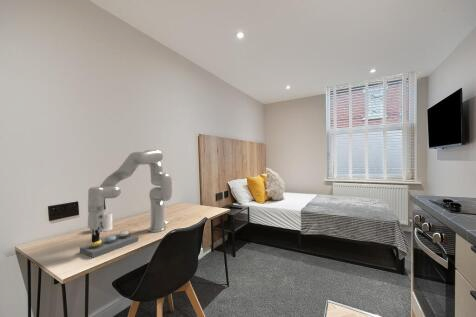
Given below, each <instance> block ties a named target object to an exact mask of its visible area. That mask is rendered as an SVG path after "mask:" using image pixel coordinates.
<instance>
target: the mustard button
mask: <svg viewBox="0 0 476 317" xmlns="http://www.w3.org/2000/svg"><path fill="white" fill-rule="evenodd" d="M102 240H103V239H100V238H99V241H97V242H92V240H91V241H90V244H91V247H95V246H99V245H101V243H102Z"/></svg>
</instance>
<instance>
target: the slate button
mask: <svg viewBox="0 0 476 317" xmlns="http://www.w3.org/2000/svg"><path fill="white" fill-rule="evenodd" d="M116 236H117V235H109V236H106V237H105V239H106V242H113V241H115V240H116Z"/></svg>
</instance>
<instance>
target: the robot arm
mask: <svg viewBox="0 0 476 317" xmlns="http://www.w3.org/2000/svg"><path fill="white" fill-rule="evenodd" d="M163 158H164V154H163V152H162V151H161V150H158V149H153V150H152V149H151V150H149V149H148V150H144V151H133V152H131V153H130V154H129V155H128V156H127V157H126V159H125V160H124V161H123V163H122V164H121V165H120V166H119V167H118V168H117V170H115V171H113V172H112V173H111V174H110V175H108V176H107V177H106V178H105V179H104V180H103V181H102V183H101V184H100V185H99V186H92V187H89V189H88V193H87V194H88V195H87V213H88V216H87V228H88V229H89V230H90V232H91V241H92V242H97V241H99V239H100V234H101V233H102V228H103V229H104V228H105V214H104V213H105V199H106V200H107V199H115V198H118V197H120V195H121V193H122V191H121V188H120V187H119V186H117V184H118V183H120V182H121V181H123V180H126V179H128V178H130V177H131V176H133V174H134V172H135V171H136V169H137V168H138V167H139V166H141V165H143V166H144V165H148V166H149V170H150V172H149V173H150V183H151V185H153V186H156V187H153V188H151V189H150V191H149V193H148V194H149V195H148V196H149V202H150V227H149V228H148V231H149V232H150V233H158V232H159V233H160V232H163V231H165V230H166V229H167V225H169V224H170V221H168V220H167V221H165V202H169V201H170V200H171V199H172V196H173V185H172V183H173V182H172V181H173V180H172V177H171V175H170V174H168V173H166V172H164V171H163V164H162V162H161V161H162V160H163Z"/></svg>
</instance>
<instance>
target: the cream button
mask: <svg viewBox="0 0 476 317" xmlns="http://www.w3.org/2000/svg"><path fill="white" fill-rule="evenodd" d="M128 234H130V233H129V229H128V230H127V229H126V230H125V229H124V230H121V231H119V235H120V236H126V235H128Z"/></svg>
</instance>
